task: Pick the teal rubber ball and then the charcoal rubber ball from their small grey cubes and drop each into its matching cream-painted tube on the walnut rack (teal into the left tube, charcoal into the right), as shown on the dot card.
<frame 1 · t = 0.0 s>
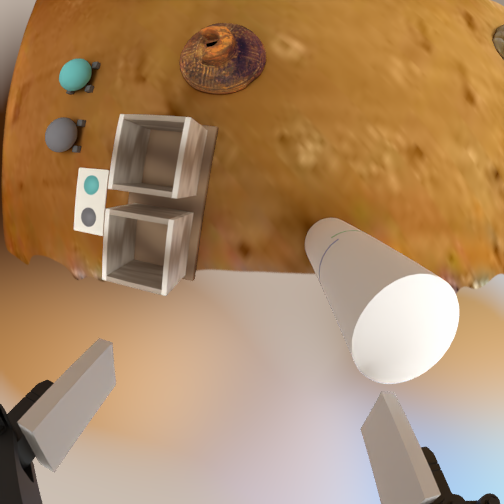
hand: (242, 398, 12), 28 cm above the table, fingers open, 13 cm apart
ball teal: (84, 78, 35), resting on small grey cubes
dot card: (90, 201, 39), on the table
rack: (166, 198, 39), on the table
brown patterned pot lid: (223, 59, 34), on the table
small grey cubes: (77, 106, 36), on the table
cylindrical container: (330, 243, 39), on the table
ball charcoal: (71, 136, 37), resting on small grey cubes
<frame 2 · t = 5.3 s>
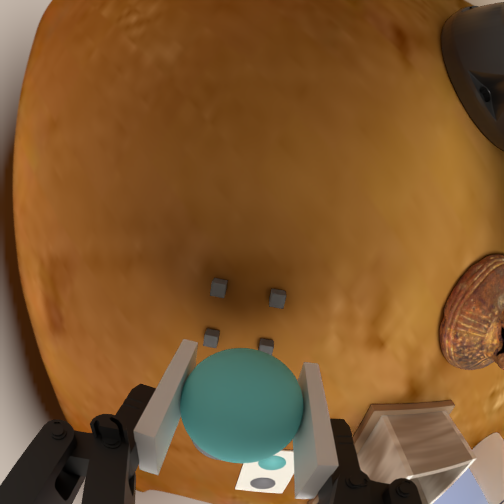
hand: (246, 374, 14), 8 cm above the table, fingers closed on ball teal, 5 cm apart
ball teal: (246, 372, 14), point 7 cm above the table, touching gripper
dot card: (267, 472, 26), on the table
rack: (375, 463, 25), on the table
brown patterned pot lid: (481, 310, 21), on the table
small grey cubes: (233, 369, 23), on the table
cylindrical container: (482, 447, 26), on the table
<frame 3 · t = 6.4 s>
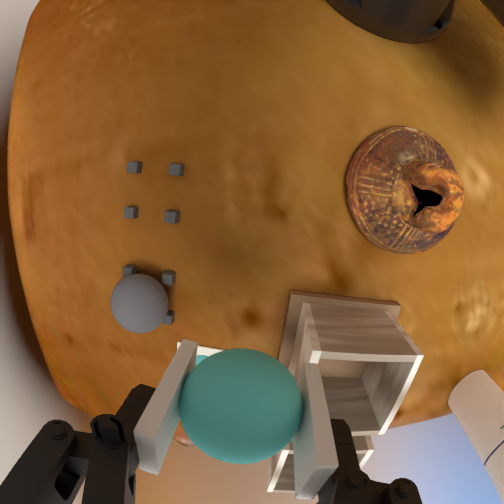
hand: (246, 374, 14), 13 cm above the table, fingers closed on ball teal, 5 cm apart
ball teal: (245, 372, 14), point 13 cm above the table, touching gripper
rack: (323, 383, 29), on the table
brown patterned pot lid: (402, 189, 24), on the table
small grey cubes: (151, 244, 27), on the table
cylindrical container: (467, 389, 29), on the table
ball charcoal: (150, 292, 28), resting on small grey cubes
when the fingers open (11 cm above the table, at t = 7.5 s): ball teal drops 9 cm, resting on rack.
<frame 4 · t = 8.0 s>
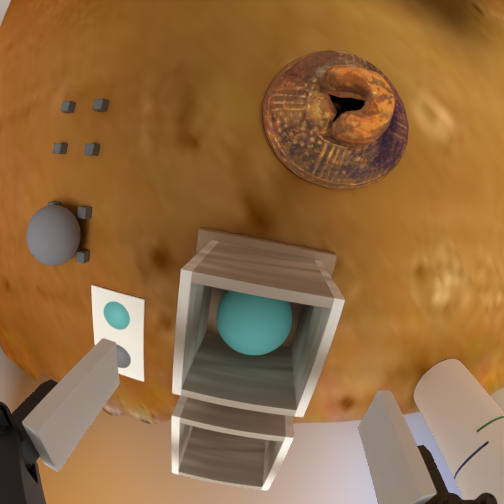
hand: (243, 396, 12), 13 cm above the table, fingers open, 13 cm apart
ball teal: (255, 303, 24), point 1 cm above the table, touching rack
dot card: (118, 335, 27), on the table
rack: (246, 350, 26), on the table
brown patterned pot lid: (336, 119, 21), on the table
small grey cubes: (74, 179, 23), on the table
cylindrical container: (438, 383, 26), on the table
ball charcoal: (70, 230, 24), resting on small grey cubes
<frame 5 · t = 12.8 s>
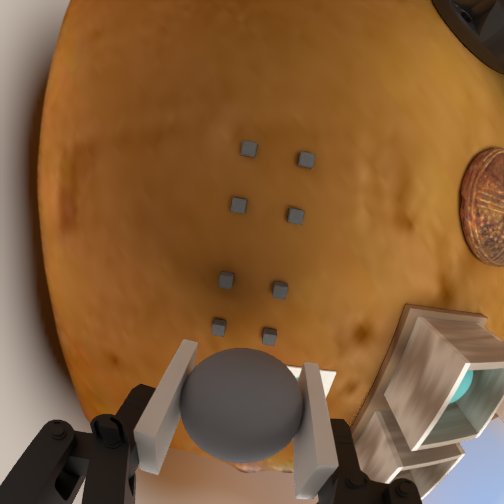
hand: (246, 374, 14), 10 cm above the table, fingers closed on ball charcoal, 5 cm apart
ball teal: (434, 361, 23), point 1 cm above the table, touching rack
dot card: (291, 406, 26), on the table
rack: (409, 396, 25), on the table
brown patterned pot lid: (496, 206, 21), on the table
small grey cubes: (260, 247, 22), on the table
ball charcoal: (246, 372, 14), point 9 cm above the table, touching gripper
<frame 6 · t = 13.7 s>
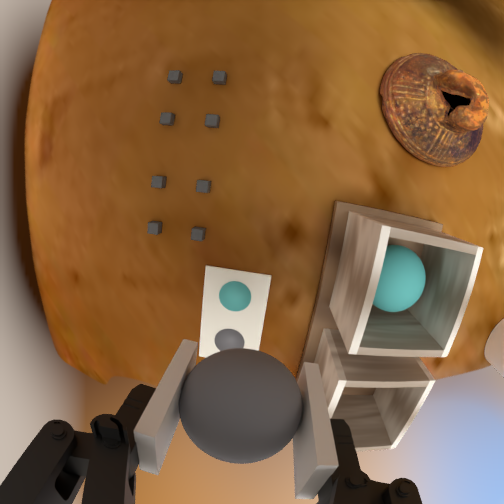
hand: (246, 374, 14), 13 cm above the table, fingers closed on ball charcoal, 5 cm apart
ball teal: (383, 268, 24), point 1 cm above the table, touching rack
dot card: (232, 319, 28), on the table
rack: (366, 317, 27), on the table
brown patterned pot lid: (430, 109, 22), on the table
small grey cubes: (186, 151, 24), on the table
cylindrical container: (501, 338, 27), on the table
ball charcoal: (245, 372, 14), point 13 cm above the table, touching gripper
when the fingers open (11 cm above the table, at t = 14.9 s): ball charcoal drops 9 cm, resting on rack.
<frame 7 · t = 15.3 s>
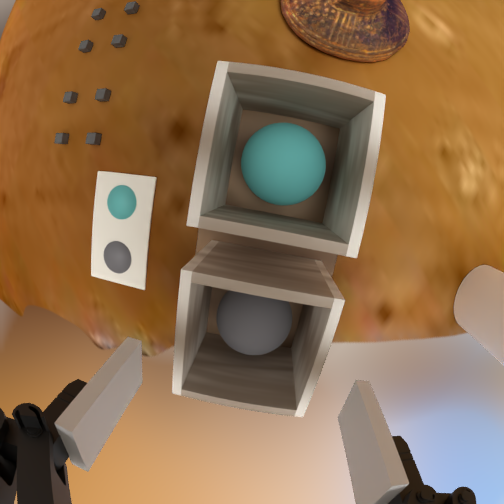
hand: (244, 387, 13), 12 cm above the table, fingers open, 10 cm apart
ball teal: (282, 166, 21), point 1 cm above the table, touching rack
dot card: (120, 229, 24), on the table
rack: (269, 233, 23), on the table
brown patterned pot lid: (344, 14, 19), on the table
small grey cubes: (96, 70, 21), on the table
cylindrical container: (477, 297, 23), on the table
ball charcoal: (255, 303, 24), point 1 cm above the table, touching rack
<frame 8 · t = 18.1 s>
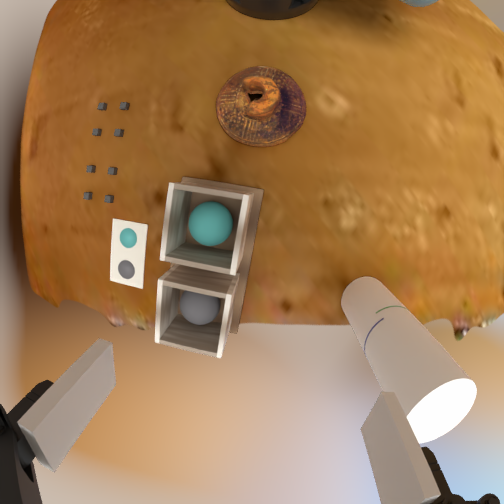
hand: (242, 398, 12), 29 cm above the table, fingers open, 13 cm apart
ball teal: (215, 220, 38), point 1 cm above the table, touching rack
dot card: (127, 253, 42), on the table
rack: (211, 257, 41), on the table
brown patterned pot lid: (261, 106, 36), on the table
small grey cubes: (106, 151, 38), on the table
cylindrical container: (363, 298, 41), on the table
ball charcoal: (204, 296, 41), point 1 cm above the table, touching rack
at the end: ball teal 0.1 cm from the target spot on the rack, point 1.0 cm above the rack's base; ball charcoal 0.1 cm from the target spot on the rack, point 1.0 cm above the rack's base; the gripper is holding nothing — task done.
